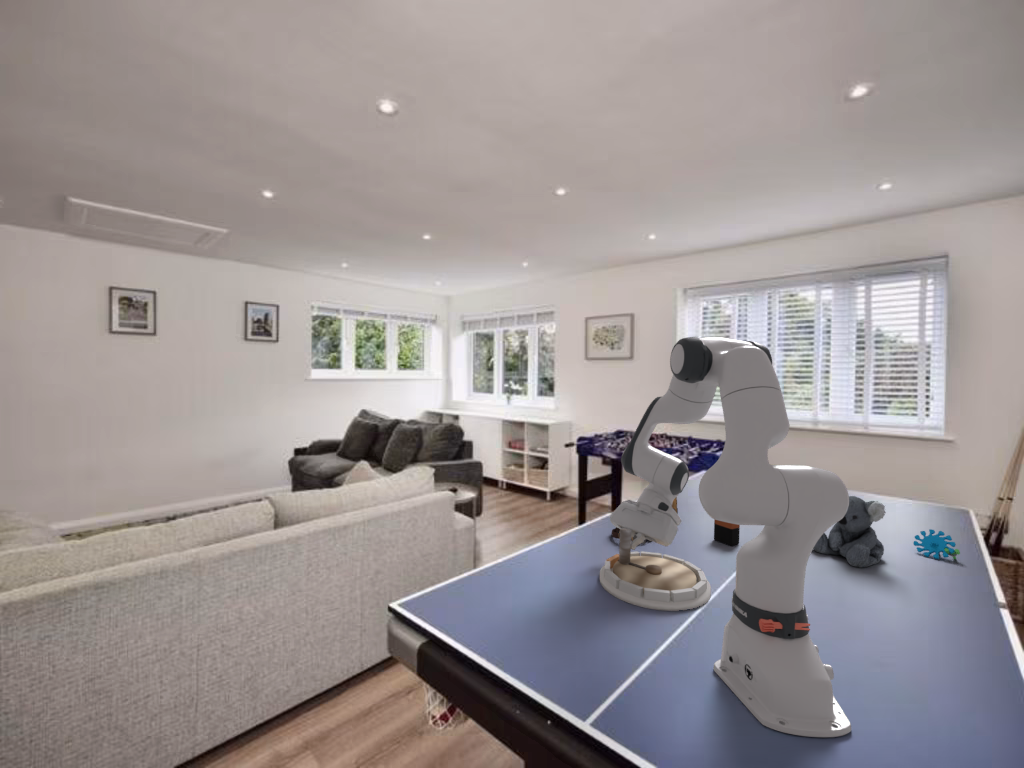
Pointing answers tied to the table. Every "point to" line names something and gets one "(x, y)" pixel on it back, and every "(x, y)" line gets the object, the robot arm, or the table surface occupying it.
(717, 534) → the battery
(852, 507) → the koala plush
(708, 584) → the dial base
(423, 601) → the table surface
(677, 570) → the dial
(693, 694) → the table surface
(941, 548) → the blue virus model
